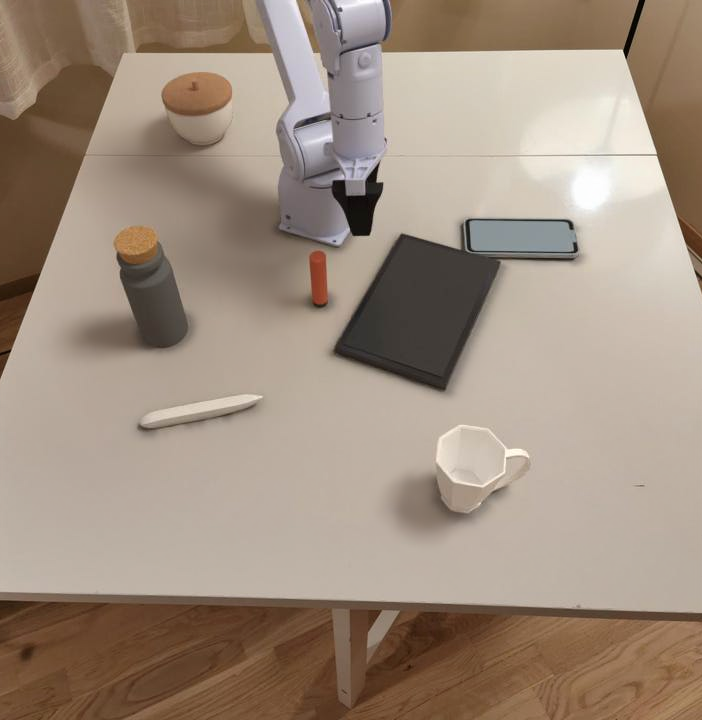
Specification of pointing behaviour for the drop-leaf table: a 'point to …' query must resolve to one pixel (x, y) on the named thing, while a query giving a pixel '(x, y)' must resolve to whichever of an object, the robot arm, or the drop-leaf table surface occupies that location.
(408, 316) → the tablet
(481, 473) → the cup
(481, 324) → the drop-leaf table surface
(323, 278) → the orange cylinder
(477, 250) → the smartphone
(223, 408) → the pen
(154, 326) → the bottle
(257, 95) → the drop-leaf table surface
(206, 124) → the trinket box
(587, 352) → the drop-leaf table surface
